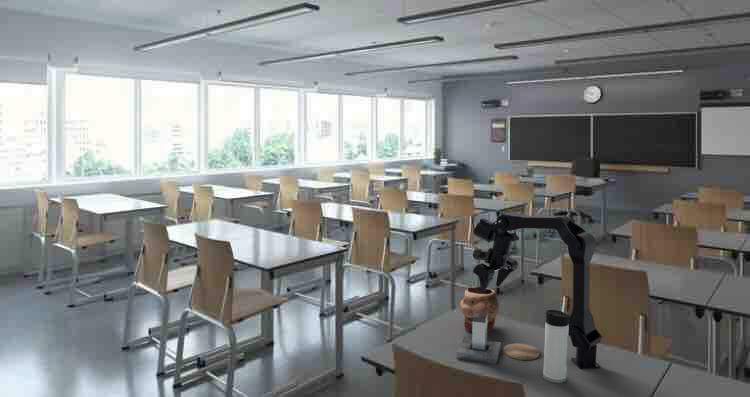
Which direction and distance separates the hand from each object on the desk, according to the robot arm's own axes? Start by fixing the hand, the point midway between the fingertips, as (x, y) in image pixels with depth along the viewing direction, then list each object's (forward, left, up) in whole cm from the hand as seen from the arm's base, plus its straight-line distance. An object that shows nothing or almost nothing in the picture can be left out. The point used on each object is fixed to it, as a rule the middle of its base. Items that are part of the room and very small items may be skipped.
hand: (490, 289), depth 185 cm
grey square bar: (-16, +8, -15) cm, 24 cm away
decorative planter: (+5, +2, -16) cm, 16 cm away
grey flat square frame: (-16, +8, -15) cm, 24 cm away
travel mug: (-34, -9, -16) cm, 39 cm away
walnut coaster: (-17, -6, -15) cm, 24 cm away
